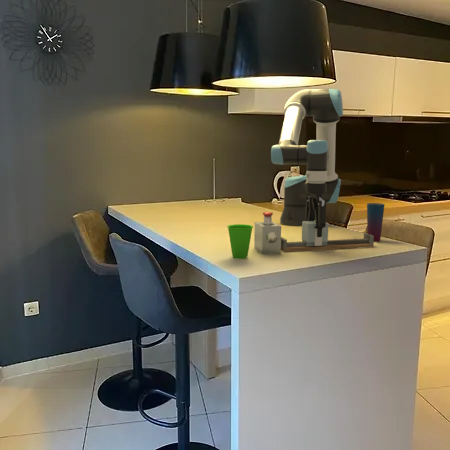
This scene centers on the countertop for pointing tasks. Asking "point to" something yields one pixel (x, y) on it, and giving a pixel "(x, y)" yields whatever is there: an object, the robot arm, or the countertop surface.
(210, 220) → the countertop surface
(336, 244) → the rail
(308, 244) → the carriage
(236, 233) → the cup
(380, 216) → the cup
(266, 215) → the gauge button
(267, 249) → the grey push button box
